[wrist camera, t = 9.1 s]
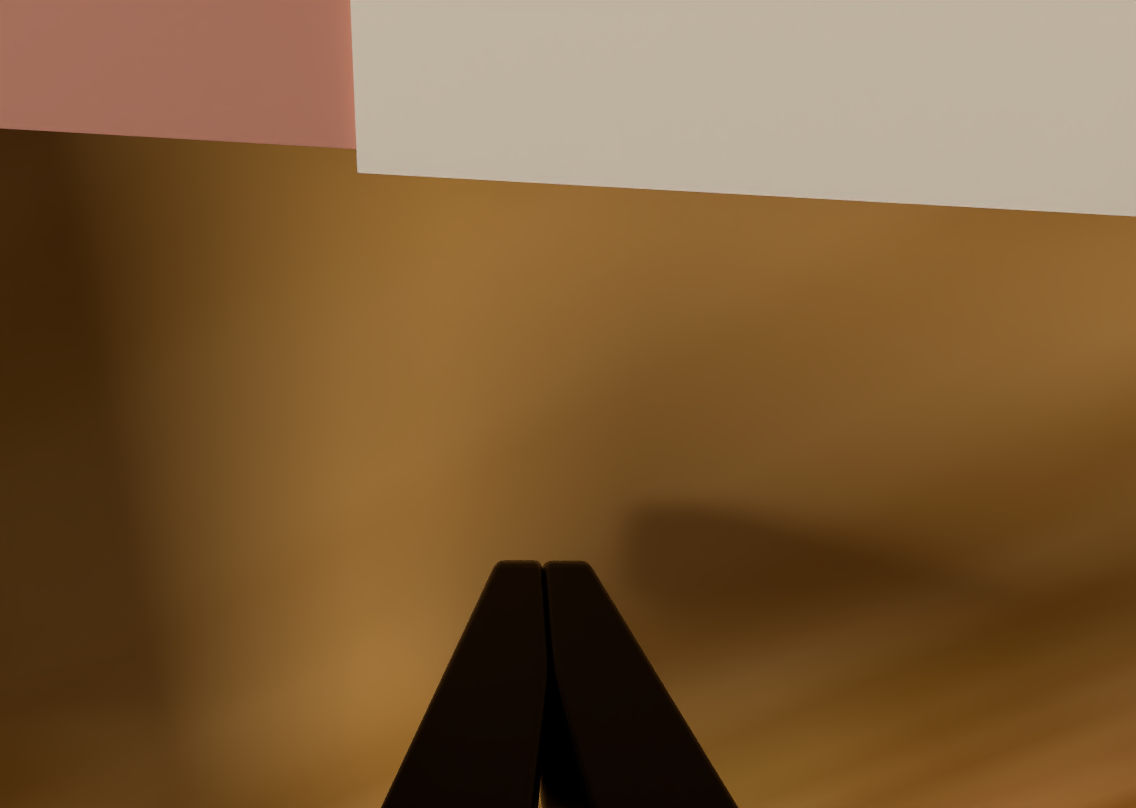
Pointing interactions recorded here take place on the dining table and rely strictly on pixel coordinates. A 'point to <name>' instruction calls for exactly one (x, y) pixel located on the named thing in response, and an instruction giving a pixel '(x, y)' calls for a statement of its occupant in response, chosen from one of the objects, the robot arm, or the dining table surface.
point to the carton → (618, 90)
